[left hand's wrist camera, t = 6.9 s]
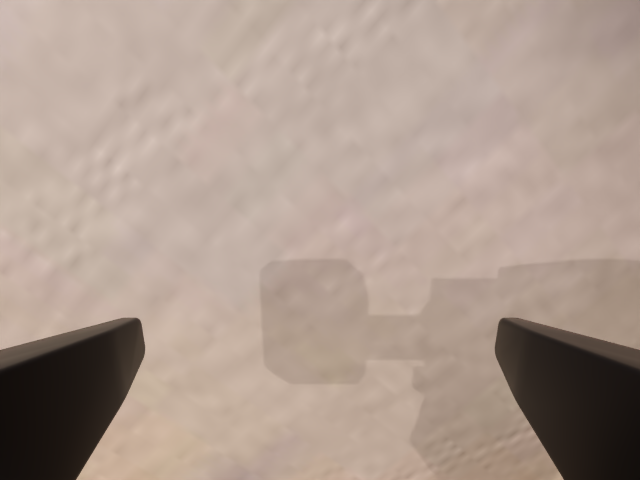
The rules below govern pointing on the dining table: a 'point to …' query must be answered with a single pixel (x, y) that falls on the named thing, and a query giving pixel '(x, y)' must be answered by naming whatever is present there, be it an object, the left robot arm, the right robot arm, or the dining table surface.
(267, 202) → the dining table surface
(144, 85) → the dining table surface
